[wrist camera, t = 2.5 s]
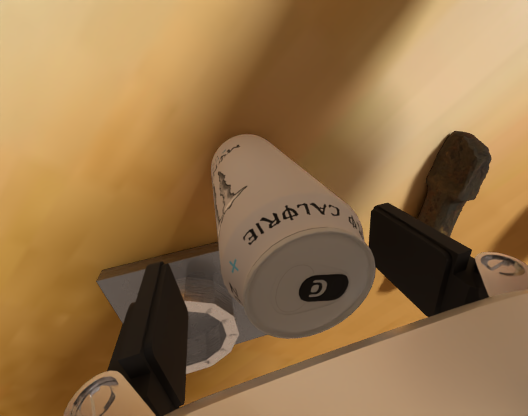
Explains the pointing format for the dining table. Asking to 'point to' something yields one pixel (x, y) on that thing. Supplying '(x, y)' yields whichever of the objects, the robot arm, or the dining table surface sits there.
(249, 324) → the manifold board
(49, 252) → the dining table surface
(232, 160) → the energy drink can
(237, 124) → the dining table surface
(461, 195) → the hand tool
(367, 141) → the dining table surface
